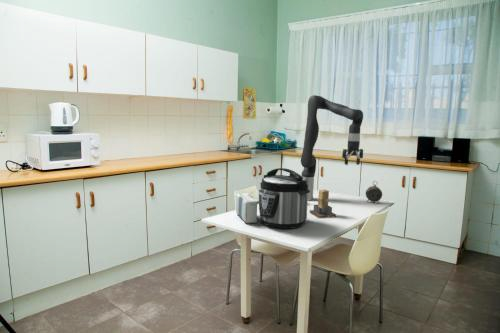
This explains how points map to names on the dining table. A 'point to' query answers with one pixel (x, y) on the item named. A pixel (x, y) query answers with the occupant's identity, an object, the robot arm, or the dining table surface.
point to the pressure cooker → (283, 199)
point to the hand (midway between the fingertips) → (352, 164)
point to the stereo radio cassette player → (247, 207)
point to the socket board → (322, 212)
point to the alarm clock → (373, 193)
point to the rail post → (323, 198)
